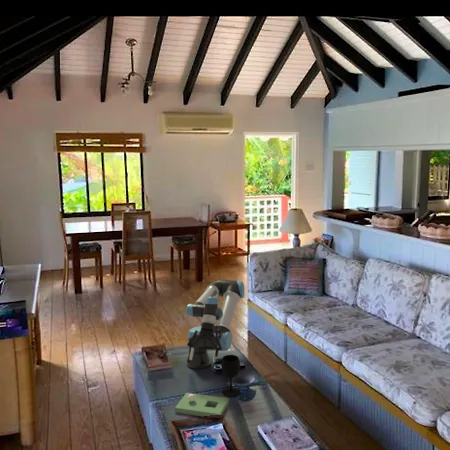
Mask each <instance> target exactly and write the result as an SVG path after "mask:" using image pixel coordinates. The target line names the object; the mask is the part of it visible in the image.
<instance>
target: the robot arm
mask: <svg viewBox="0 0 450 450" xmlns="http://www.w3.org/2000/svg"><path fill="white" fill-rule="evenodd" d="M220 297H223V299H224V300H223V302H222V305H221V307H220V306H219V304H220V303H219V298H220ZM244 297H245V284H244V281H242V280H238V279H237V280H234V279H233V280H232V279H217V280H215V281H213V282H210V284H208V286H207V287H206V288H205V290H204V292H203V293H202V295H200V297H198V299H197V300H196V301H195V302H194V303H188V304H187V306H186V308H185V314H186V315H187V317H192V318H202V321H201V322H202V323H201V325H200V326H199V325H198V326H195V327H193V328H190V329H189V330H188V333H187V334H188V336H187V340H188V343H187V344H186V345H187V346H188V354H187V357H186V361H185V363H186V366H187V367H188V368H191V369H196V370H198V369H199V370H200V369H205V368H207V367H209V366H210V365H211V357H210V355H209V352H208V350H209V351H213V355H212V363H213V364H214V363H216V360H217V357H218V356H219V352H227V351H228V350H229V349H230V348H231V345H232V342H233V341H232V340H233V333H232V332H231V325H232V321H233V318H234V317H233V316H234V314H235V310H236V308H237V304H238V303H239V302H240V300H241V299H244ZM216 321H217V322H216ZM215 324H216V325H215Z"/></svg>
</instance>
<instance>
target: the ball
mask: <svg viewBox="0 0 450 450" xmlns="http://www.w3.org/2000/svg"><path fill="white" fill-rule="evenodd" d="M194 394H195V393H192V394H189V395H188V401H190V402H193V401H194V400H195V395H194Z"/></svg>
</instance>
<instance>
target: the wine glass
mask: <svg viewBox="0 0 450 450" xmlns="http://www.w3.org/2000/svg"><path fill="white" fill-rule="evenodd" d="M220 367H221V368H220V369H221V372H222V374H223V376H224V377H225V378H227V379H229V387H225V388H224V389H222V390H221V394H222V395H223V396H224V397H225V398H226V397H227V398H235V397H238V396H240V395H241V390H240V389H239V388H237V387H234V386H233V379H234V378H236V377H237V376H238V375H239V373H240V371H241V362H240V358H239V356H238V355H235V354H226V355H224V356H223V357H222V359H221V364H220Z"/></svg>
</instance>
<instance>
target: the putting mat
mask: <svg viewBox="0 0 450 450" xmlns="http://www.w3.org/2000/svg"><path fill="white" fill-rule="evenodd" d="M189 394H194V395H195V400H194V401H193V402H190V401H188V395H189ZM229 404H230V397H227V398H226V397H221V396H215V395H213V396H212V395H207V394H206V395H205V394H198V393H191V392H186V393H185V394H184V395H183V397H182V398H181V399H180V401H179V402H178V403H177V404H176V406H175V407H174V413H178V414H183V415H190V416H191V415H192V416H197V417H204V416H210V415H222V416H223V415H224V413H225V411H226V409H227V408H228V405H229Z"/></svg>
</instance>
